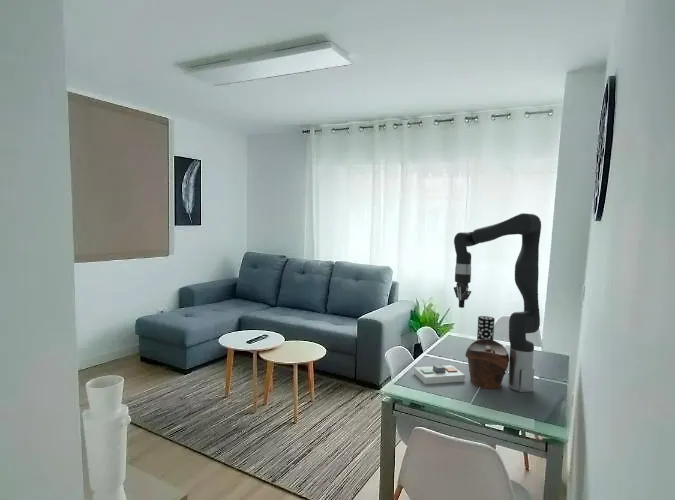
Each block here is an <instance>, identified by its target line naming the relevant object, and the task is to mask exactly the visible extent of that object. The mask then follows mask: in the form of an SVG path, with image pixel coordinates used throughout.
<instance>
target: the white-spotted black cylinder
mask: <svg viewBox="0 0 675 500" xmlns="http://www.w3.org/2000/svg"><path fill="white" fill-rule="evenodd" d="M494 334H495V318H494V317H492V316H488V315H479V316H477V333H476V335H477V337H476V341H477V340H480V339H490V340H494V336H495V335H494Z"/></svg>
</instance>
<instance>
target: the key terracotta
mask: <svg viewBox="0 0 675 500" xmlns="http://www.w3.org/2000/svg"><path fill="white" fill-rule="evenodd" d="M453 367H454V366H453ZM453 367H449V368H445V370H446V371H447V372H449V373H450V372H457V370H458V369H457V368H456V369H457V370H456V369H454V368H453Z"/></svg>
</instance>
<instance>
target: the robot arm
mask: <svg viewBox="0 0 675 500" xmlns="http://www.w3.org/2000/svg"><path fill="white" fill-rule="evenodd" d="M541 231H542V221H541V218H540V217H539V216H538V215H536V214H534V213H525V212H524V213H519V214H517V215H516V214H515V216H513V217H510V218H508V219H506V220H502V221H500V222H498V223H494V224H490V225H486V226H483V227H478V228H475V229H474V230H473V231H469V232H467V231H465V232H464V231H463V232H458V233H456V234H455V236H454V238H453V245H454V251H455V253H456V258H455V260H456V261H455V268H454V282H455V283H456V286H454V287H453V291H454V294H455V296H456V298H457V299H458V307H459V308H461V309H463V308H465V301H467V300H468V299H469V298H470V295H471V294H472V291H471V290H469V284H470V283H471V280H472V254H471V252H470V251H468V247H473V246H476V245H479V244H484V243H487V242H488V243H489V242H491V241H494V240H497V239H499V238H501V237H504V236H505V237H506V236H510V235H514V236H515V235H521V248H520V251H519V254H518V256H517V258H516V261H515V263H514V264H515V265H514V282H515V285H516V287H517V289H518V291H519V292H520V294H521V296H522V299H523V311H515V312H513V313H511V314H510V316H509V319H508V341H509V343H510V347H509V362H508V380H507V386H508V388H509V389H511V390H514V391H517V392H519V393H528V392H533V391H534V381H535V380H534V379H535V378H534V377H535V370H534V367H533V365H534V353H535V345H534V343H533V342H532V341H530V340H527V335H526V334H535V333H536V332H538V331H539V329H540V325H541V316H540V305H539V270H540V269H539V256H540V255H539V254H540V253H539V251H540V250H539V249H540V247H539V246H540V239H541Z"/></svg>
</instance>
